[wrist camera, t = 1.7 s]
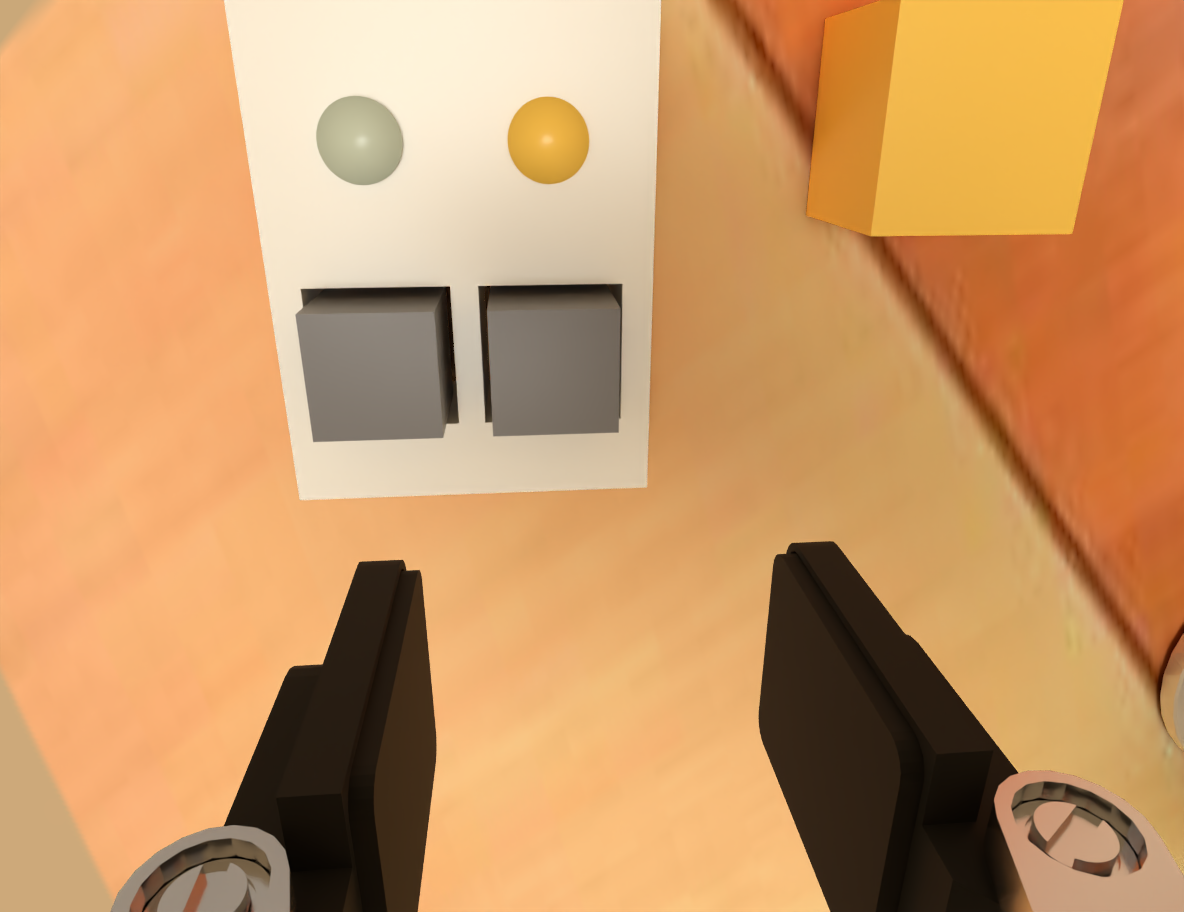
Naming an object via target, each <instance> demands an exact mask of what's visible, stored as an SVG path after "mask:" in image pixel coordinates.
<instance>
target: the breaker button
mask: <svg viewBox="0 0 1184 912" xmlns="http://www.w3.org/2000/svg"><path fill="white" fill-rule="evenodd" d="M295 316H296V323H297V330H298V337H299V344H300V352H301V359H302V366H303V373H304V380H305V387H306V394H307V402H308V409H309V416H310V423H311V430H312V437H313V442H332V441H364V440H397V439H429V438H444V433H445V429H446V424H447V420H448V415H449V411H450V406H451V402H452V397H453V385H452V370H451V355H450V341H449V326H448V311H447V296H446V286H440V287H378V288H325V289H324V290H322V291H321V292H320V293H319V294H318V295H317V296H316V297H315V298H313V299H312V300H311V301H310V302H309V303H308V304H307V305H305V306H304V307H303V308H302V309H301V310H300V311H299V312H298V313H296V314H295Z"/></svg>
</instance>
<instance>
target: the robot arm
mask: <svg viewBox="0 0 1184 912" xmlns="http://www.w3.org/2000/svg"><path fill="white" fill-rule="evenodd" d="M1160 701H1161V715H1162V718H1163V721H1164V724H1165V726H1166V729H1167V732H1168V733H1169V735H1170V736H1171V737H1172V739H1173V740H1174V742H1175V743H1176V744H1177V746H1178V747H1179V748H1180V749H1182V750H1183V751H1184V633H1183V635H1182V636H1181V638H1180V640H1179V641H1178V643H1177V645H1176V646H1175V648H1174V650H1173V651H1172V654H1171V656H1170V659H1169V662H1168V664H1167V667H1166V670H1165V672H1164V675H1163V681H1162V688H1161V694H1160ZM759 728H760V734H761V738H762V742H763V744H764V747H765V749H766V752H767V754H768V757H769V759H770V762H771V764H772V767H773V769H774V772H775V774H776V777H777V779H778V782H779V784H780V787H781V789H782V792H783V794H784V797H785V799H786V802H787V804H788V807H789V809H790V812H791V814H792V817H793V819H794V822H795V824H796V827H797V829H798V832H799V834H800V837H801V839H802V842H803V844H804V847H805V849H806V852H807V854H808V857H809V859H810V862H811V864H812V867H813V869H814V872H815V874H816V877H817V879H818V882H819V884H820V887H821V889H822V892H823V894H824V897H825V899H826V902H827V904H828V907H829V909H830V912H1184V876H1183V874H1182V872H1181V871H1180V869H1179V867H1178V866H1177V864H1176V862H1175V861H1174V859H1173V857H1172V856H1171V854H1170V852H1169V850H1168V849H1167V847H1166V845H1165V844H1164V842H1163V840H1162V839H1161V837H1160V836H1159V834H1158V833H1157V832H1156V830H1155V829H1154V828H1153V827H1152V825H1151V824H1150V823H1149V822H1148V820H1147V819H1146V818H1145V817H1144V816H1143V815H1142V814H1141V813H1140V812H1138V811H1137V810H1136V809H1135V808H1134V807H1132V806H1131V805H1130V804H1129V803H1127V802H1126V801H1125V800H1124V799H1122V798H1120V797H1119V796H1117V795H1115V794H1114V793H1112V792H1110V791H1108V790H1107V789H1105V788H1103V787H1102V786H1100V785H1097V784H1095V783H1092V782H1089V781H1087V780H1084V779H1082V778H1079V777H1077V776H1073V775H1069V774H1064V773H1059V772H1054V771H1025V772H1022V773H1018V772H1017V770H1016V769H1015V768H1014V767H1013V765H1012V764H1011V763H1010V761H1009V760H1008V759H1007V757H1006V756H1005V755H1004V754H1003V752H1002V751H1001V750H1000V748H999V747H998V746H997V745H996V743H995V742H994V741H993V739H992V738H991V737H990V736H989V734H988V733H987V732H986V730H985V729H984V728H983V726H982V725H981V724H980V723H979V721H978V720H977V719H976V717H975V716H974V715H973V714H972V712H971V711H970V710H969V708H968V707H967V706H966V704H965V703H964V702H963V701H962V699H961V698H960V697H959V695H958V694H957V693H956V692H955V690H954V689H953V688H952V686H951V685H950V684H949V683H948V681H947V680H946V679H945V677H944V676H943V675H942V673H941V672H940V671H939V670H938V668H937V667H936V666H935V664H934V663H933V662H932V661H931V659H930V658H929V657H928V655H927V654H926V653H925V651H924V650H923V649H922V648H921V646H920V645H919V644H918V643H917V642H916V641H915V640H914V639H913V638H912V637H911V636H909V635H906V634H905V633H904V632H903V631H902V629H901V628H900V627H899V625H898V624H897V623H896V622H895V620H894V619H893V618H892V616H891V615H890V614H889V612H888V611H887V610H886V608H885V607H884V606H883V604H882V603H881V602H880V601H879V599H878V598H877V597H876V595H875V594H874V593H873V591H872V590H871V589H870V587H869V586H868V585H867V583H866V582H865V581H864V580H863V578H862V577H861V576H860V574H859V573H858V572H857V570H856V569H855V568H854V566H853V565H852V564H851V562H850V561H849V560H848V559H847V557H846V556H845V555H844V553H843V552H842V551H841V549H840V548H839V547H838V545H837V544H835V543H834V542H830V541H829V542H806V543H791V544H790V545H789V547H788V550H787V553H786V554H777V555H776V557H775V559H774V564H773V573H772V583H771V593H770V604H769V614H768V624H767V634H766V644H765V655H764V665H763V675H762V685H761V695H760V705H759ZM435 764H436V728H435V717H434V706H433V695H432V684H431V673H430V663H429V652H428V641H427V630H426V619H425V608H424V597H423V586H422V577H421V572H420V570H412V571H406V567H405V563H404V561H403V560H390V561H367V562H359V564H358V566H357V569H356V571H355V574H354V577H353V580H352V583H351V586H350V589H349V591H348V594H347V597H346V600H345V603H344V606H343V608H342V611H341V614H340V617H339V620H338V623H337V626H336V628H335V631H334V634H333V637H332V640H331V643H330V645H329V648H328V651H327V654H326V657H325V660H324V663H323V665H305V666H294V667H292V668H290V669H289V671H288V673H287V675H286V676H285V678H284V681H283V683H282V686H281V688H280V691H279V693H278V696H277V698H276V700H275V703H274V705H273V708H272V710H271V713H270V715H269V717H268V720H267V722H266V725H265V727H264V730H263V732H262V734H261V737H260V739H259V742H258V744H257V747H256V749H255V751H254V754H253V756H252V759H251V761H250V764H249V766H248V768H247V771H246V773H245V776H244V778H243V781H242V783H241V785H240V788H239V790H238V793H237V795H236V798H235V800H234V802H233V805H232V807H231V810H230V812H229V815H228V817H227V820H226V822H225V824H224V826H223V827H216V828H209V829H206V830H203V831H200V832H197V833H194V834H191V835H189V836H186V837H183V838H181V839H179V840H177V841H176V842H174V843H172V844H171V845H169V846H167V847H165V848H164V849H162V850H160V851H158V852H157V853H156V854H154V855H153V856H152V857H151V858H150V859H149V860H147V861H146V862H145V863H144V864H143V865H142V866H140V867H139V868H138V869H137V870H136V871H135V872H134V873H133V874H132V876H131V877H130V878H129V879H128V881H127V882H126V883H125V885H124V886H123V887H122V889H121V890H120V891H119V892H118V894H117V897H116V899H115V902H114V904H113V907H112V909H111V912H418V904H419V896H420V887H421V879H422V871H423V863H424V855H425V846H426V838H427V830H428V822H429V814H430V805H431V797H432V789H433V781H434V773H435Z"/></svg>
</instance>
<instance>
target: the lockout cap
mask: <svg viewBox="0 0 1184 912" xmlns="http://www.w3.org/2000/svg"><path fill="white" fill-rule="evenodd" d="M1123 1H1124V0H880V1H877V2H874V3H871V4H868V5H865V6H862V7H859V8H856V9H853V10H850V11H847V12H844V13H841V14H837V15H834V16H831V17H828V18H825V26H824V36H823V46H822V57H821V67H820V77H819V87H818V98H817V108H816V118H815V128H814V139H813V149H812V159H811V169H810V180H809V190H808V200H807V210H806V216H809V217H813V218H816V219H819V220H822V221H825V222H828V223H831V224H834V225H837V226H840V227H843V228H847V229H850V230H853V231H856V232H859V233H862V234H865V235H868V236H941V235H1028V234H1072V233H1073V228H1074V224H1075V219H1076V215H1077V210H1078V205H1079V201H1080V196H1081V192H1082V187H1083V183H1084V178H1085V174H1086V169H1087V165H1088V160H1089V155H1090V151H1091V146H1092V142H1093V137H1094V133H1095V128H1096V124H1097V119H1098V115H1099V110H1100V105H1101V101H1102V96H1103V92H1104V87H1105V83H1106V78H1107V74H1108V69H1109V65H1110V60H1111V55H1112V51H1113V46H1114V42H1115V37H1116V33H1117V28H1118V24H1119V19H1120V15H1121V10H1122V5H1123Z"/></svg>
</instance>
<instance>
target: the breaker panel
mask: <svg viewBox="0 0 1184 912" xmlns="http://www.w3.org/2000/svg"><path fill="white" fill-rule="evenodd" d="M224 3H225V10H226V16H227V23H228V30H229V36H230V43H231V49H232V56H233V63H234V69H235V76H236V82H237V89H238V96H239V102H240V109H241V115H242V122H243V129H244V135H245V142H246V148H247V155H248V162H249V168H250V175H251V181H252V188H253V195H254V201H255V208H256V214H257V221H258V228H259V234H260V241H261V248H262V254H263V261H264V267H265V274H266V281H267V287H268V294H269V300H270V307H271V314H272V320H273V327H274V333H275V340H276V347H277V353H278V360H279V366H280V373H281V380H282V386H283V393H284V399H285V406H286V413H287V419H288V426H289V432H290V439H291V446H292V452H293V459H294V465H295V472H296V479H297V485H298V492H299V498H300V500H318V499H346V498H373V497H400V496H427V495H454V494H482V493H509V492H536V491H563V490H590V489H618V488H645V487H647V472H648V438H649V403H650V369H651V334H652V300H653V266H654V231H655V197H656V162H657V128H658V93H659V59H660V25H661V0H224ZM566 284H607V286H608V287H609V289H610V291H611V293H612V294H613V296H614V298H615V300H616V301H617V303H618V305H619V307H620V308H621V309H620V380H619V433H589V434H557V435H525V436H493V424H492V404H491V383H490V380H489V362H488V342H487V321H486V301H485V286H503V285H566ZM440 286H450V292H451V308H452V323H453V338H454V353H455V368H456V381H452V385H453V397H452V402H451V406H450V411H449V415H448V420H447V424H446V429H445V433H444V438H429V439H397V440H364V441H332V442H313V437H312V430H311V423H310V416H309V409H308V402H307V394H306V387H305V380H304V373H303V366H302V359H301V352H300V344H299V337H298V330H297V323H296V316H295V314H296V313H298V312H299V311H300V310H301V309H302V308H303V307H304V306H305V305H307V304H308V303H309V302H310V301H311V300H312V299H313V298H315V297H316V296H317V295H318V294H319V293H320V292H321V291H322V290H324V289H325V288H378V287H440Z"/></svg>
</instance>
